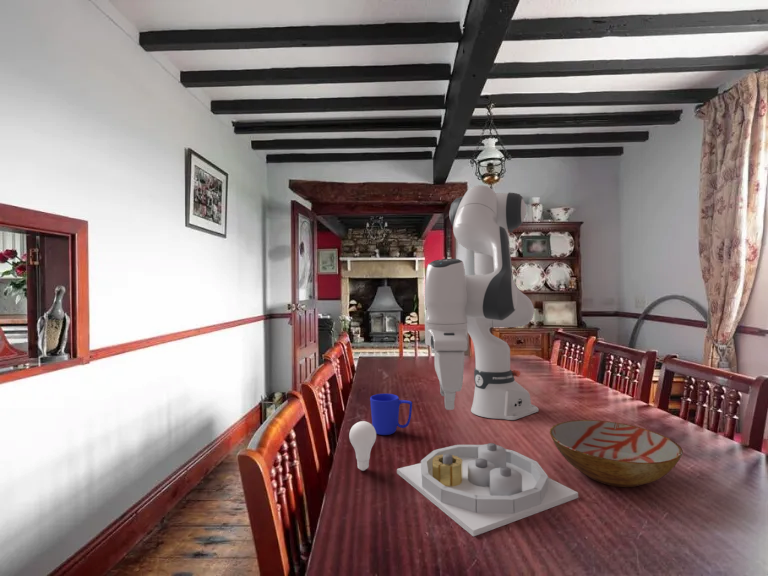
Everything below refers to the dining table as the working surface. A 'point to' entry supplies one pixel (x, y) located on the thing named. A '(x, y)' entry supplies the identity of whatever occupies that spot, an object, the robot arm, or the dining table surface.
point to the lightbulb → (362, 442)
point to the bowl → (615, 451)
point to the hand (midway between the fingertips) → (446, 401)
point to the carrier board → (488, 486)
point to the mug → (387, 413)
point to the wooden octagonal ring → (447, 471)
